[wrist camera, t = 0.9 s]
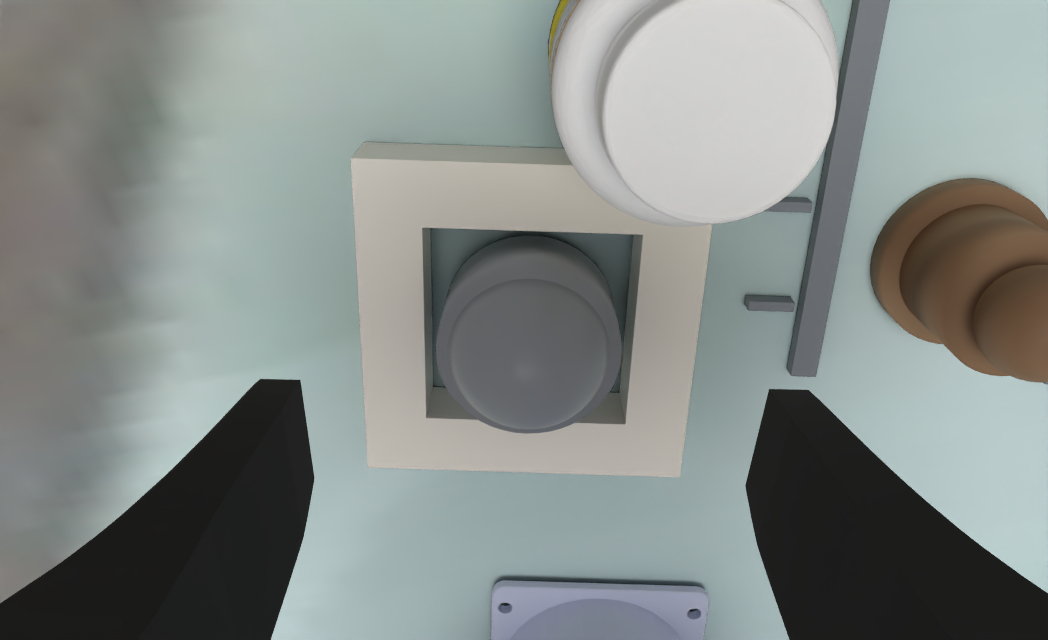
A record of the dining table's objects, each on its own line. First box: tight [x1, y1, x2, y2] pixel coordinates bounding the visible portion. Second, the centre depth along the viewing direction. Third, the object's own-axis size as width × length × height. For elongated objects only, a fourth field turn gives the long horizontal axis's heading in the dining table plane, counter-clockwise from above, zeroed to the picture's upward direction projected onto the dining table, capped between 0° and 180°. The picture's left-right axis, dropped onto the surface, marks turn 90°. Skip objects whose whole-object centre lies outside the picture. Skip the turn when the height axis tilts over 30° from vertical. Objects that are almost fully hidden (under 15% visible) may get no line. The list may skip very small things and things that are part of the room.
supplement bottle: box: [548, 0, 838, 227], centre depth 19 cm, size 6×6×10 cm
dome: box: [436, 236, 622, 434], centre depth 24 cm, size 5×5×5 cm
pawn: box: [870, 178, 1048, 382], centre depth 23 cm, size 5×5×6 cm
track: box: [745, 0, 1048, 384], centre depth 24 cm, size 16×12×1 cm
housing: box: [351, 142, 712, 477], centre depth 26 cm, size 10×10×2 cm
